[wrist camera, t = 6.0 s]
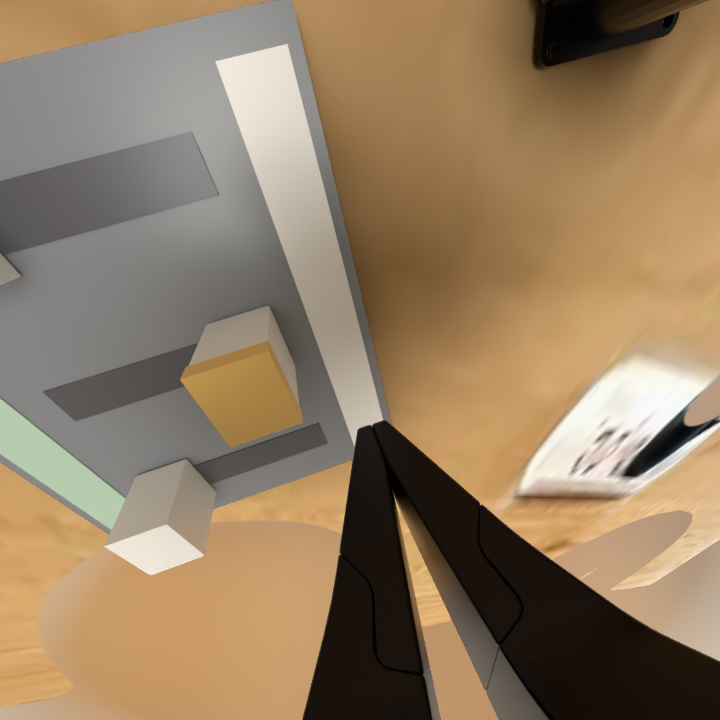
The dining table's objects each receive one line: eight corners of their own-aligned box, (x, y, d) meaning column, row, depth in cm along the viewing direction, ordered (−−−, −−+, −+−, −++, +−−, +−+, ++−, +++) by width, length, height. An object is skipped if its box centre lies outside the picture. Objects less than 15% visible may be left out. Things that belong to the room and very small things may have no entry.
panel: (289, 16, 11) (291, -6, 9) (389, 429, 23) (396, 444, 22) (-348, 166, 9) (-453, 165, 8) (128, 520, 22) (119, 543, 20)
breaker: (186, 459, 18) (166, 524, 15) (216, 491, 20) (204, 555, 17) (135, 476, 18) (104, 546, 14) (171, 507, 20) (150, 575, 16)
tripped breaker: (269, 303, 14) (268, 351, 10) (296, 365, 16) (302, 423, 13) (204, 323, 14) (179, 379, 10) (240, 383, 16) (230, 447, 12)
